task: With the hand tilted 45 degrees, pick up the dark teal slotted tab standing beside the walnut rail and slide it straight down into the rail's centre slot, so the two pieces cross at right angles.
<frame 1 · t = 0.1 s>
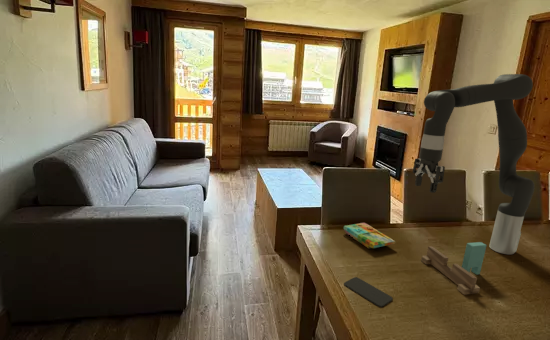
hand: (424, 188, 125), 29 cm above the table, tool pointing down, fingers open, 8 cm apart
phone: (367, 293, 108), on the table
slotted tab: (470, 273, 122), on the table
puzzle game: (367, 241, 144), on the table
slotted rail: (447, 275, 120), on the table
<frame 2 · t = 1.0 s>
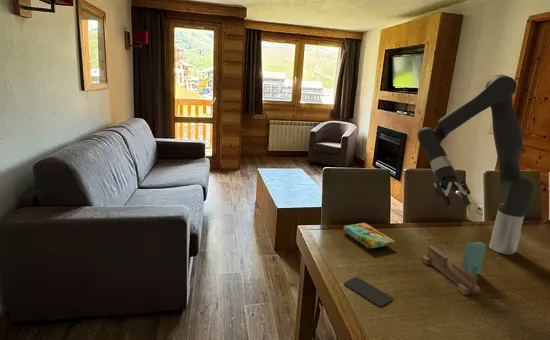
hand: (458, 205, 127), 23 cm above the table, tool tilted 45°, fingers open, 8 cm apart
nothing on the table moved.
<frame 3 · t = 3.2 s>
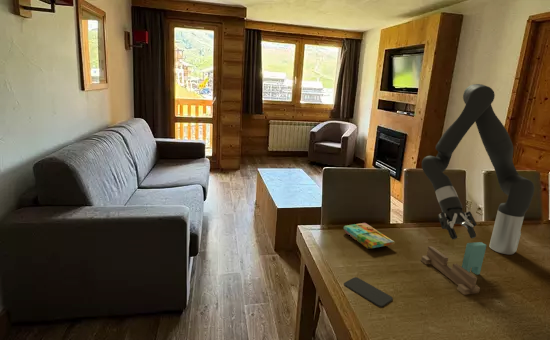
hand: (464, 238, 125), 12 cm above the table, tool tilted 45°, fingers open, 8 cm apart
nothing on the table moved.
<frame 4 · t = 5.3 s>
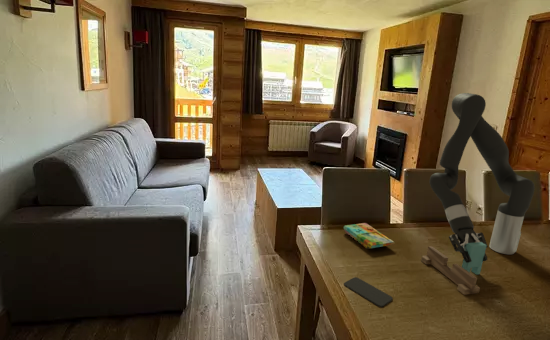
hand: (477, 261, 119), 6 cm above the table, tool tilted 45°, fingers closed on slotted tab, 6 cm apart
slotted tab: (470, 273, 122), on the table, touching gripper
everything else where it was.
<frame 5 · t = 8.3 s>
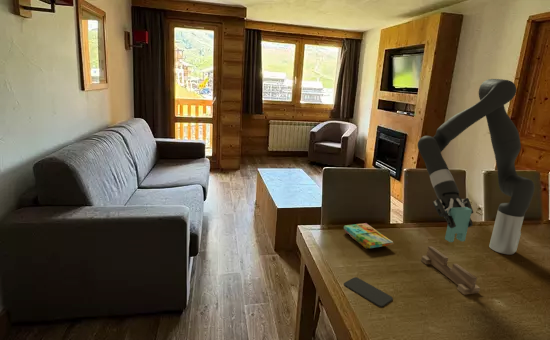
hand: (461, 226, 113), 20 cm above the table, tool tilted 45°, fingers closed on slotted tab, 6 cm apart
slotted tab: (454, 240, 116), point 14 cm above the table, touching gripper
everything else where it was.
when the fingers open (7 cm above the table, at t = 11.6 s): slotted tab drops 1 cm, on the table.
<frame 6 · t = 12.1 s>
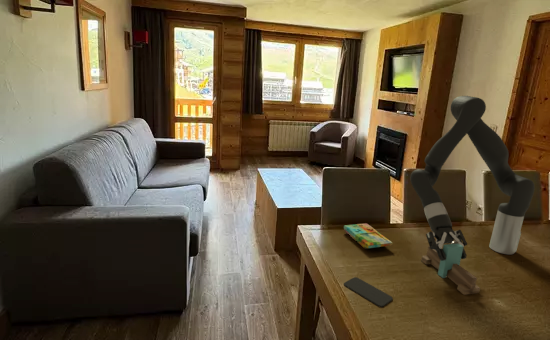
hand: (454, 259, 117), 7 cm above the table, tool tilted 45°, fingers open, 8 cm apart
slotted tab: (447, 275, 120), on the table
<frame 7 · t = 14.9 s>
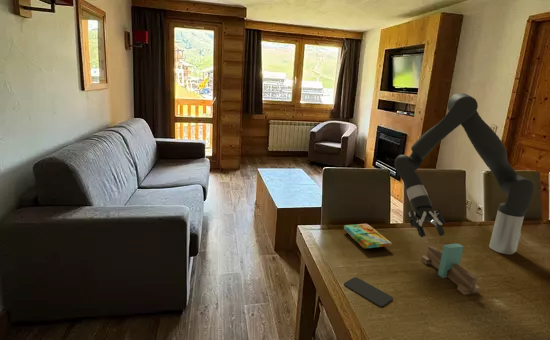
hand: (432, 236, 127), 11 cm above the table, tool tilted 45°, fingers open, 8 cm apart
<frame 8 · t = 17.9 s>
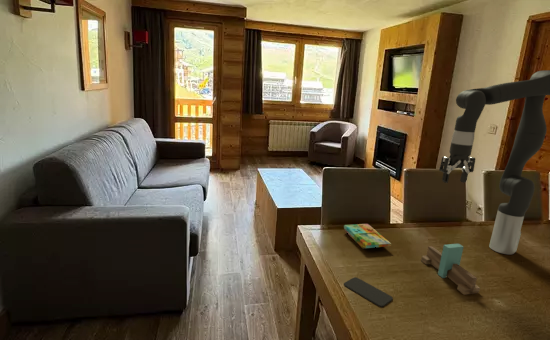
hand: (454, 182, 132), 30 cm above the table, tool pointing down, fingers open, 8 cm apart
at the end: slotted tab 0.1 cm off-centre on the slotted rail, point 0.0 cm above the slotted rail's base; slotted tab tilted 0°; the gripper is holding nothing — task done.
